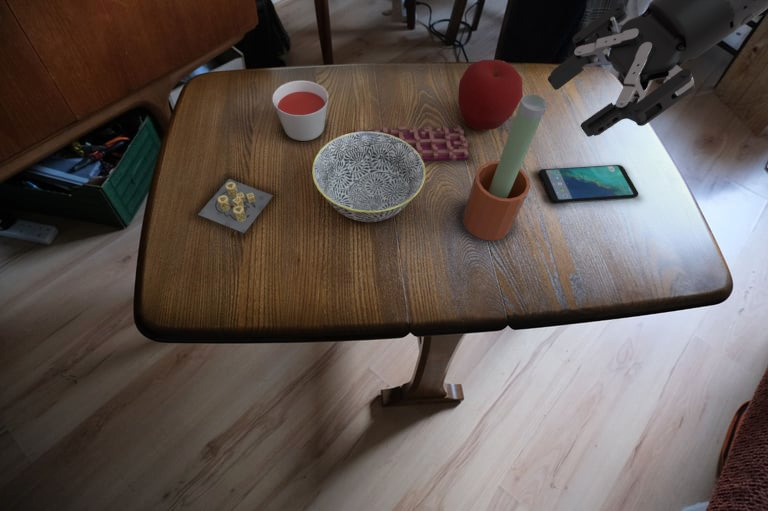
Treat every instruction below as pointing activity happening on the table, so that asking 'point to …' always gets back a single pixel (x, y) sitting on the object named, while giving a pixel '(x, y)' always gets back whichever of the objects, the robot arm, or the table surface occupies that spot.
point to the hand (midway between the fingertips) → (566, 107)
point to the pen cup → (493, 204)
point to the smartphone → (587, 183)
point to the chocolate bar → (433, 142)
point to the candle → (301, 109)
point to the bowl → (368, 175)
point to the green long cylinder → (517, 144)
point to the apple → (489, 94)
